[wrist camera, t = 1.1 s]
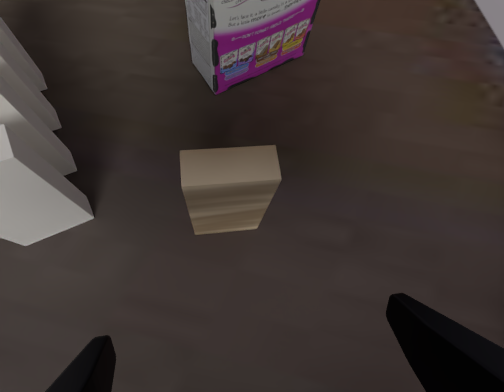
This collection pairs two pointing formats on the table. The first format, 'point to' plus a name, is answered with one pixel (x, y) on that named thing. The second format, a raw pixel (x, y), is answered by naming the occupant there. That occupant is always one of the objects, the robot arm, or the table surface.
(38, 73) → the domino
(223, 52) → the candy bar box
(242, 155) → the domino
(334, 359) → the table surface
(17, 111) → the domino
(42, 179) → the domino
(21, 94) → the domino
